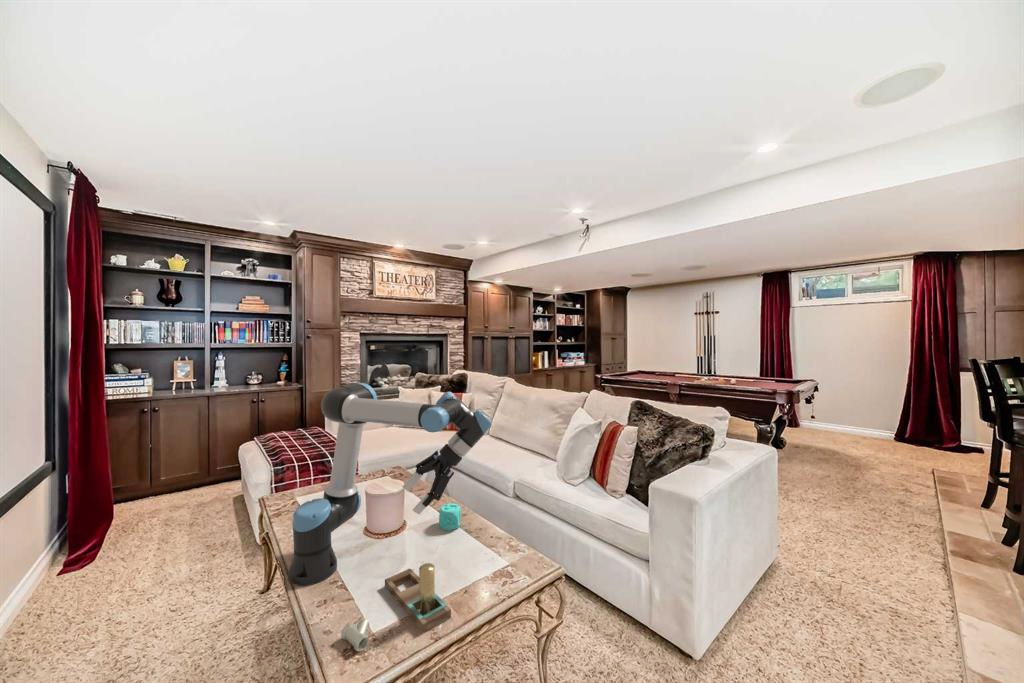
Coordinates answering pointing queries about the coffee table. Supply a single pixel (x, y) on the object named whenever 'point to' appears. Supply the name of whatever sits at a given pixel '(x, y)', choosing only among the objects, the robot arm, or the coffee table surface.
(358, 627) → the pipe fitting
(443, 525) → the decorative dice
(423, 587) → the brass peg
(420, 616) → the walnut rail
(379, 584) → the coffee table surface
